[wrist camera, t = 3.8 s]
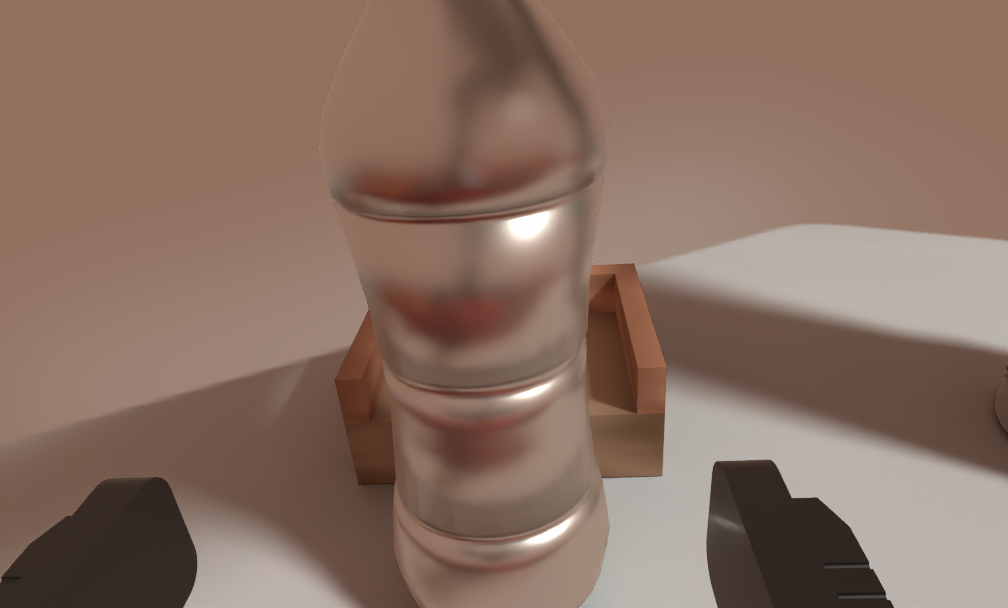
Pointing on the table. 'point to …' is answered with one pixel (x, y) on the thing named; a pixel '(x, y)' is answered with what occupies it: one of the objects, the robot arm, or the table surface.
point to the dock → (609, 379)
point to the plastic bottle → (477, 288)
